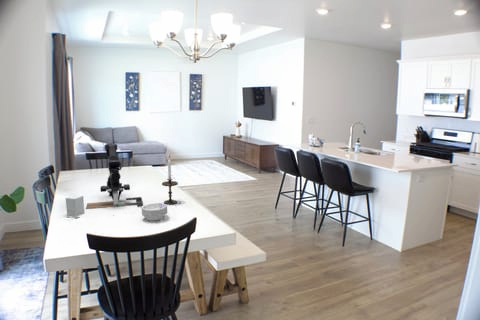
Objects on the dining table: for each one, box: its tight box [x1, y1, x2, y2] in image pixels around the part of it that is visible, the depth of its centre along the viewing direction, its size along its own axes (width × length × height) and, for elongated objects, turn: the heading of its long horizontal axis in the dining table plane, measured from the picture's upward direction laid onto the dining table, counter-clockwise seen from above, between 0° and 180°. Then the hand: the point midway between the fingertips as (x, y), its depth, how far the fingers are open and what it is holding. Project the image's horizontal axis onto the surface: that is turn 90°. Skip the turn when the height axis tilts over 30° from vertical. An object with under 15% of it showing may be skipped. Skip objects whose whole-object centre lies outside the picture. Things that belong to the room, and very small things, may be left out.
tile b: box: [118, 200, 126, 207], centre depth 245 cm, size 4×4×2 cm
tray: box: [125, 196, 144, 208], centre depth 251 cm, size 14×11×3 cm
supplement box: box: [65, 194, 86, 220], centre depth 224 cm, size 7×7×13 cm
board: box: [85, 199, 127, 210], centre depth 245 cm, size 14×25×2 cm, turn 109°
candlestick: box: [161, 154, 179, 206], centre depth 252 cm, size 11×11×35 cm
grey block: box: [112, 191, 119, 205], centre depth 247 cm, size 10×3×9 cm, turn 19°
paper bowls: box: [141, 202, 168, 222], centre depth 221 cm, size 15×15×8 cm
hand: (115, 200), depth 247 cm, fingers closed on grey block, 3 cm apart
